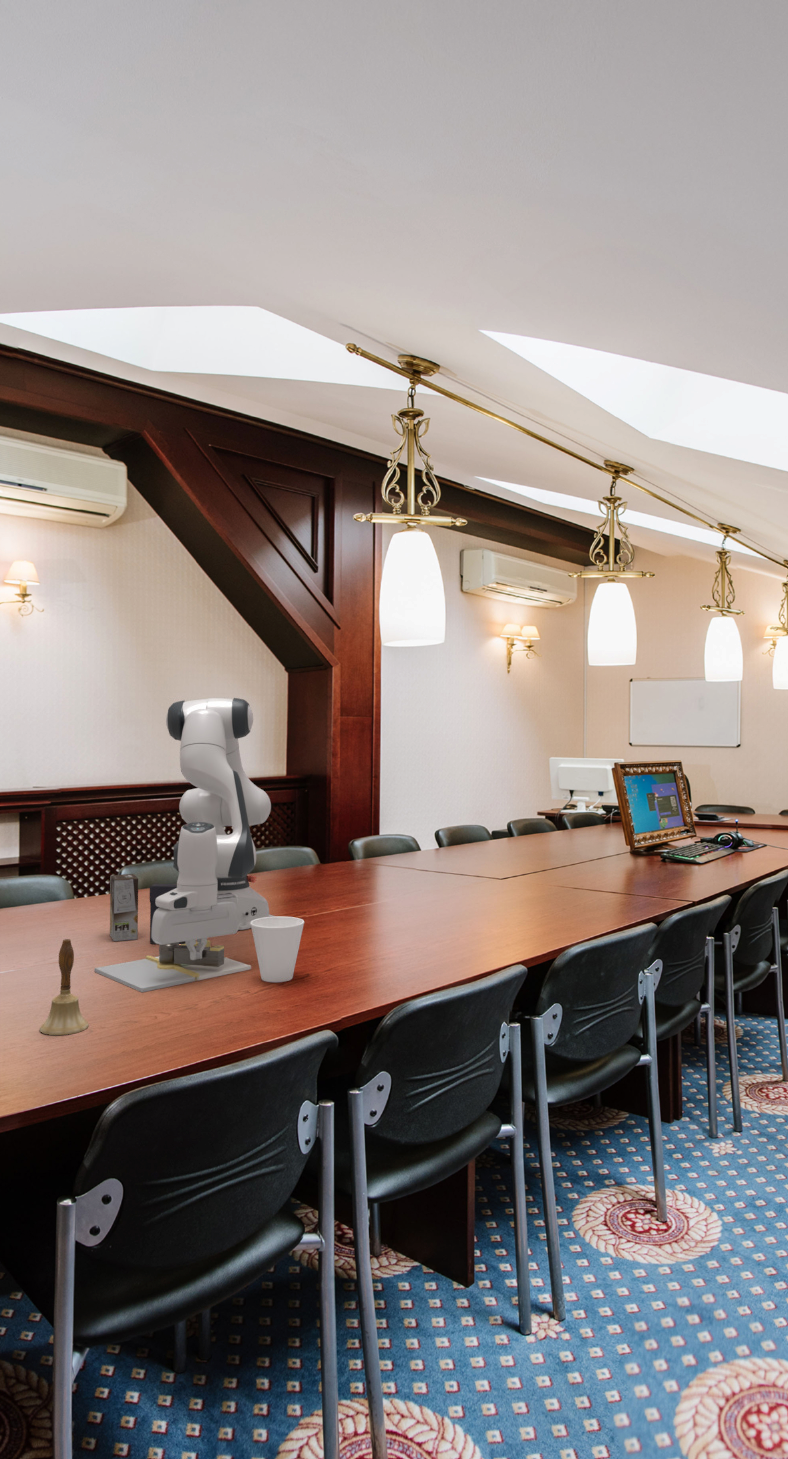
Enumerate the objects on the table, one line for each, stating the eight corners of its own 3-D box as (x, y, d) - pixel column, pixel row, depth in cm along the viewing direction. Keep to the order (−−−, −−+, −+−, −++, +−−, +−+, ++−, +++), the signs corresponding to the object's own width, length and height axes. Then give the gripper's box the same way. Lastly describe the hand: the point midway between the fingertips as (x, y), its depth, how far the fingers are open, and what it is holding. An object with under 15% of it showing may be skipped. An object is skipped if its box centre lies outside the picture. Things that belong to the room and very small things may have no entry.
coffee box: (138, 939, 227) (139, 878, 227) (113, 942, 224) (113, 879, 224) (133, 932, 235) (133, 873, 235) (108, 934, 232) (109, 874, 233)
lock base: (199, 952, 214) (199, 934, 214) (250, 969, 198) (251, 949, 198) (94, 971, 195) (94, 952, 195) (141, 992, 179) (142, 971, 179)
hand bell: (94, 1020, 161) (95, 934, 161) (80, 1035, 153) (81, 945, 153) (49, 1021, 161) (50, 934, 161) (32, 1036, 152) (33, 945, 153)
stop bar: (155, 962, 195) (155, 944, 195) (165, 958, 199) (165, 940, 200) (216, 967, 191) (216, 949, 191) (225, 963, 195) (225, 944, 195)
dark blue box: (196, 942, 225) (196, 884, 225) (190, 945, 220) (191, 886, 221) (155, 940, 226) (155, 883, 226) (148, 944, 221) (149, 885, 222)
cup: (294, 987, 184) (294, 928, 184) (241, 983, 186) (241, 925, 186) (310, 972, 195) (311, 917, 195) (260, 969, 198) (261, 915, 198)
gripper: (229, 890, 202) (228, 950, 201) (148, 899, 188) (147, 963, 187) (244, 893, 197) (243, 954, 197) (162, 903, 183) (161, 969, 183)
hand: (196, 959), depth 192 cm, fingers closed
